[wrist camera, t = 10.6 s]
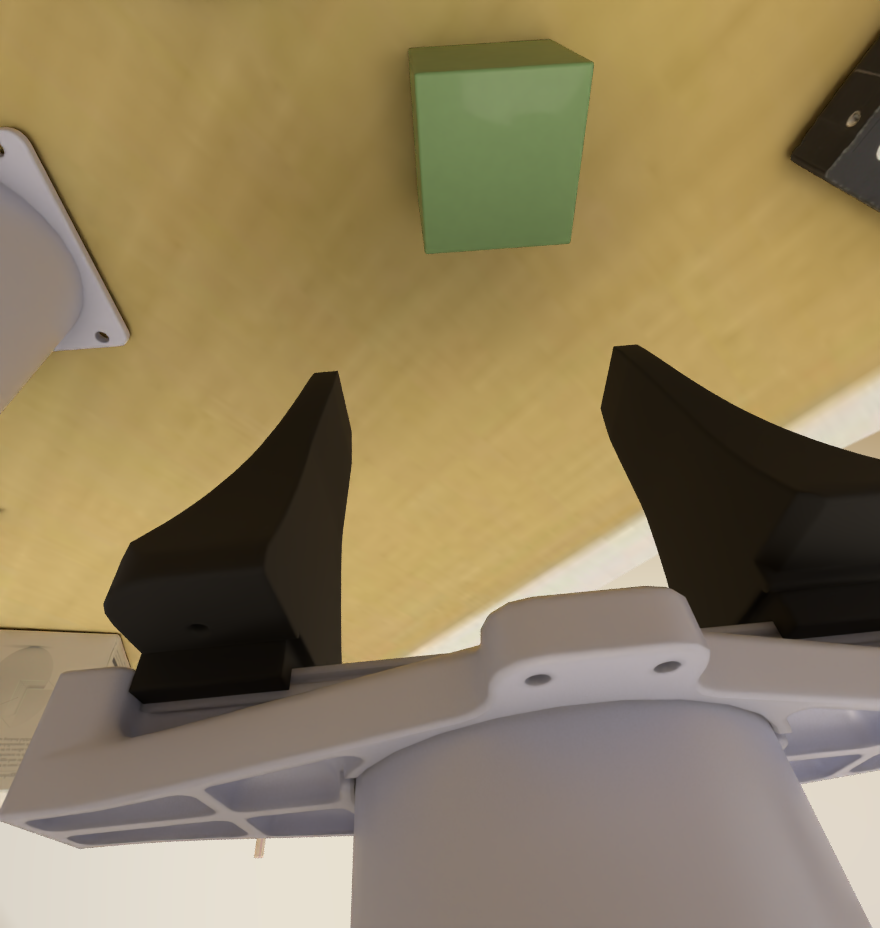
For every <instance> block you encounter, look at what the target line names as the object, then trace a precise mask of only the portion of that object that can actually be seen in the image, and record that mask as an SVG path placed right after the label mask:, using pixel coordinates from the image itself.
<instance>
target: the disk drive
mask: <svg viewBox="0 0 880 928" xmlns="http://www.w3.org/2000/svg"><path fill="white" fill-rule="evenodd" d="M791 161H793V162H794V163H796V164H797V165H799V166H801V167H802V168H804V169H806V170H808V171H809V172H811V173H813V174H814V175H816V176H818V177H820V178H822V179H823V180H825V181H827V182H828V183H830V184H832V185H833V186H835V187H837V188H839V189H840V190H842V191H844V192H846V193H847V194H849V195H851V196H853V197H854V198H856V199H858V200H859V201H861V202H863V203H864V204H866V205H867V206H870V207H871V208H873V209H875V210H876V211H878V212H880V36H879V37H878V39H877V40H876V41H875V42H874V44H873V45H872V46H871V48H870V49H869V50H868V51H867V53H866V54H865V55H864V57H863V58H862V60H861V61H860V62H859V63H858V65H857V66H856V67H855V68H854V70H853V71H852V73H851V74H850V75H849V77H848V78H847V79H846V81H845V82H844V84H843V85H842V86H841V87H840V89H839V90H838V91H837V92H836V94H835V95H834V97H833V98H832V100H831V101H830V103H829V104H828V105H827V106H826V108H825V109H824V110H823V112H822V113H821V114H820V115H819V116H818V117H817V119H816V122H815V123H814V125H813V126H812V127H811V128H810V130H809V131H808V132H807V133H806V135H805V137H804V138H803V140H802V143H801V144H800V145H799V146H798V147H797V148H796V149H795V150H794V151H793V153H792V155H791Z"/></svg>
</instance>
